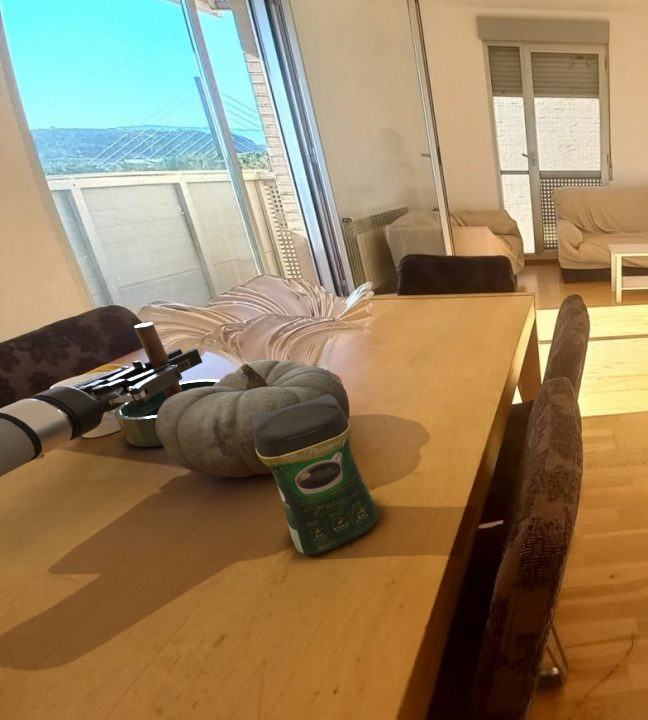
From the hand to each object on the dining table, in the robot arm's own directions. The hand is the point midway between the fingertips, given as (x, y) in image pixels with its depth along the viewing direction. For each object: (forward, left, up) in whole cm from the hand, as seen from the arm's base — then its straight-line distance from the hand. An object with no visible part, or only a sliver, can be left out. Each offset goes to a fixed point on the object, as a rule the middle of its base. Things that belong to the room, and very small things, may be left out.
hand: (189, 356), depth 88 cm
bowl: (+1, -4, -12) cm, 13 cm away
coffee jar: (+53, +5, -13) cm, 55 cm away
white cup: (-9, -15, -13) cm, 22 cm away
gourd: (+25, +5, -13) cm, 29 cm away
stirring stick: (+4, -4, -10) cm, 11 cm away
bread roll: (-39, -13, -13) cm, 43 cm away
